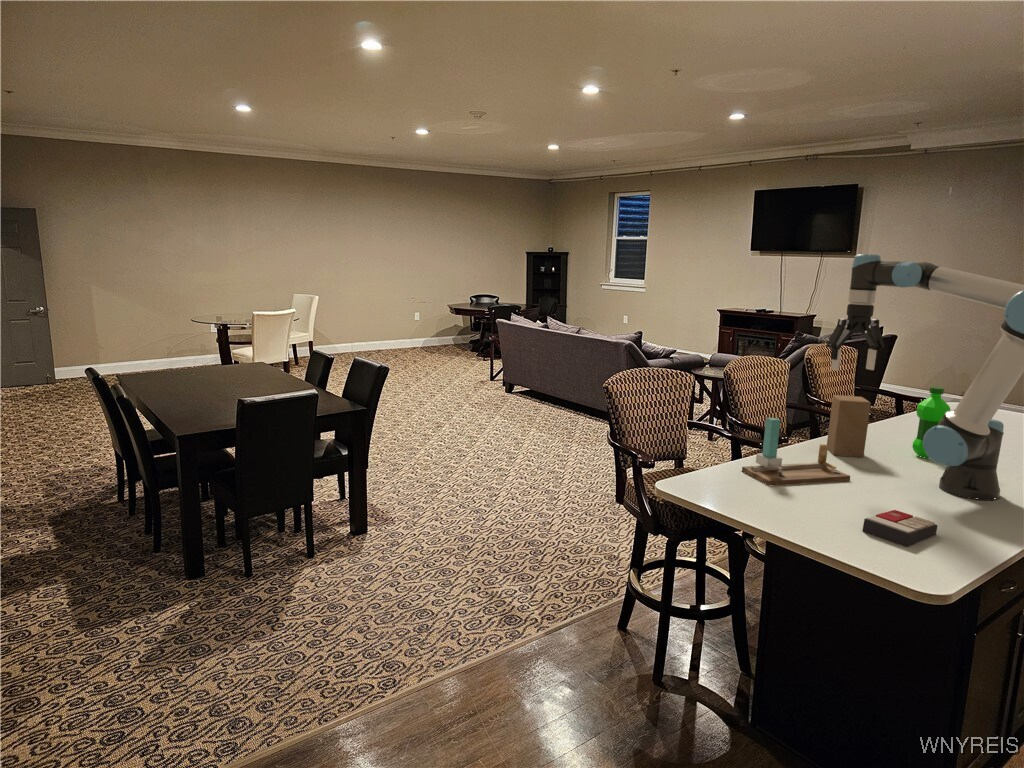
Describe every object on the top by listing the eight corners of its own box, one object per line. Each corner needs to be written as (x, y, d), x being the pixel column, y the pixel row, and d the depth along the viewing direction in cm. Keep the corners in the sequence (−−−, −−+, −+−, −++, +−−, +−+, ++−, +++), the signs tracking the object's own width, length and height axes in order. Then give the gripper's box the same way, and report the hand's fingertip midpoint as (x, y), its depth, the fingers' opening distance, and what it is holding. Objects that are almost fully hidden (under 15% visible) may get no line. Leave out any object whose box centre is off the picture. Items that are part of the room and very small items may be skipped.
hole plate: (849, 480, 207) (853, 453, 205) (769, 485, 200) (772, 457, 198) (818, 466, 220) (821, 441, 219) (741, 471, 213) (744, 445, 211)
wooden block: (863, 458, 232) (871, 402, 229) (833, 455, 234) (840, 400, 231) (855, 450, 242) (862, 396, 238) (825, 448, 244) (832, 394, 240)
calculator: (939, 522, 166) (910, 531, 158) (935, 538, 167) (906, 548, 158) (893, 508, 175) (864, 515, 167) (891, 523, 176) (861, 532, 167)
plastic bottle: (950, 459, 234) (961, 390, 229) (929, 462, 230) (940, 391, 225) (923, 451, 243) (934, 384, 238) (903, 454, 239) (913, 385, 234)
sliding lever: (787, 474, 205) (793, 423, 202) (773, 475, 204) (779, 424, 201) (768, 465, 214) (774, 416, 211) (755, 465, 213) (760, 416, 210)
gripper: (884, 303, 218) (875, 367, 222) (819, 302, 212) (811, 368, 216) (902, 305, 211) (893, 371, 215) (836, 304, 204) (828, 372, 208)
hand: (852, 369), depth 215 cm, fingers open, 13 cm apart
